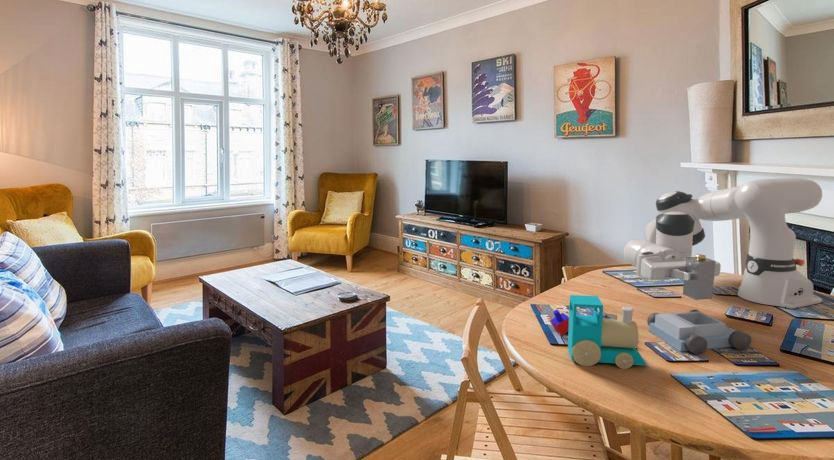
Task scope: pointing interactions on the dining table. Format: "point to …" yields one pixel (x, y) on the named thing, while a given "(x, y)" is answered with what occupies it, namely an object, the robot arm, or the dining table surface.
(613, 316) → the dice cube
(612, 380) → the dining table surface
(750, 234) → the robot arm
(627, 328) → the toy train
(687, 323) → the chassis
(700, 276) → the engine block
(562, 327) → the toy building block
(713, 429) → the dining table surface
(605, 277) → the dining table surface
